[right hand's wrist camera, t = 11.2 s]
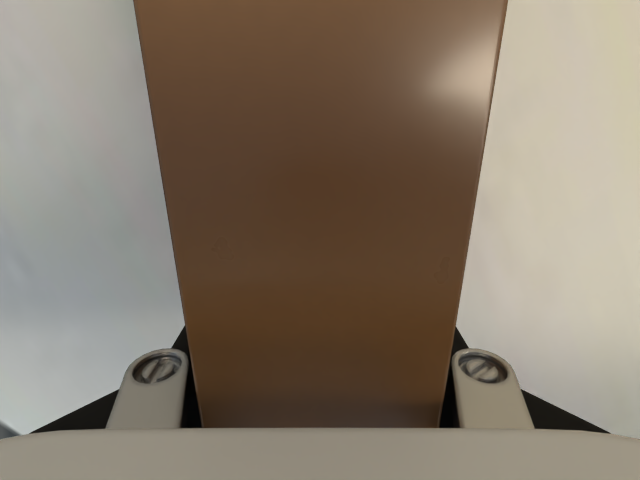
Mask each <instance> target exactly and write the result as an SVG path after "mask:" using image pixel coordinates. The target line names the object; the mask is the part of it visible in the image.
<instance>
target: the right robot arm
mask: <svg viewBox="0 0 640 480" xmlns="http://www.w3.org/2000/svg"><path fill="white" fill-rule="evenodd" d="M0 480H640V439H635V438H630V437H625V436H619V435H614V434H611V433H609V432H607V431H605V430H603V429H601V428H599V427H597V426H595V425H593V424H591V423H589V422H587V421H585V420H583V419H581V418H579V417H577V416H575V415H573V414H571V413H569V412H566V411H564V410H562V409H560V408H558V407H556V406H554V405H552V404H550V403H548V402H546V401H544V400H542V399H540V398H538V397H536V396H534V395H532V394H530V393H528V392H526V391H524V390H522V389H520V386H519V383H518V381H517V378H516V375H515V372H514V370H513V369H512V367H511V365H509V364H508V363H507V362H506V361H505V360H504V359H502V358H501V357H499V356H498V355H496V354H493V353H491V352H489V351H485V350H481V349H472V348H468V346H467V344H466V343H465V341H464V339H463V338H462V336H461V334H460V333H459V331H458V329H457V328H456V326H455V332H454V339H453V345H452V351H451V357H450V363H449V370H448V376H447V382H446V388H445V394H444V401H443V407H442V413H441V419H440V425H439V428H202V426H201V420H200V414H199V408H198V401H197V395H196V389H195V383H194V376H193V370H192V364H191V358H190V351H189V345H188V339H187V333H186V326H184V328H183V330H182V331H181V333H180V335H179V336H178V338H177V340H176V341H175V343H174V345H173V346H172V348H168V349H159V350H155V351H151V352H149V353H147V354H144V355H142V356H141V357H139V358H138V359H136V360H135V361H134V362H133V363H132V364H131V365H129V367H128V369H127V370H126V372H125V375H124V378H123V381H122V383H121V386H120V389H119V390H116V391H114V392H112V393H110V394H108V395H106V396H104V397H102V398H100V399H98V400H96V401H94V402H92V403H90V404H88V405H86V406H84V407H82V408H80V409H78V410H76V411H74V412H72V413H70V414H68V415H66V416H63V417H61V418H59V419H57V420H55V421H53V422H51V423H49V424H47V425H45V426H43V427H41V428H39V429H37V430H35V431H33V432H31V433H29V434H26V435H21V436H15V437H10V438H5V439H0Z"/></svg>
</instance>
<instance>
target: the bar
mask: <svg viewBox="0 0 640 480" xmlns="http://www.w3.org/2000/svg"><path fill="white" fill-rule="evenodd" d="M133 2H134V8H135V14H136V20H137V27H138V33H139V39H140V45H141V52H142V58H143V64H144V70H145V77H146V83H147V89H148V95H149V102H150V108H151V114H152V120H153V127H154V133H155V139H156V145H157V152H158V158H159V164H160V170H161V177H162V183H163V189H164V195H165V201H166V208H167V214H168V220H169V226H170V233H171V239H172V245H173V251H174V258H175V264H176V270H177V276H178V283H179V289H180V295H181V301H182V308H183V314H184V320H185V326H186V333H187V339H188V345H189V351H190V358H191V364H192V370H193V376H194V383H195V389H196V395H197V401H198V408H199V414H200V420H201V426H202V428H439V425H440V419H441V413H442V407H443V401H444V394H445V388H446V382H447V376H448V370H449V363H450V357H451V351H452V345H453V339H454V332H455V326H456V320H457V314H458V308H459V301H460V295H461V289H462V283H463V277H464V270H465V264H466V258H467V252H468V246H469V239H470V233H471V227H472V221H473V215H474V208H475V202H476V196H477V190H478V184H479V177H480V171H481V165H482V159H483V153H484V146H485V140H486V134H487V128H488V122H489V115H490V109H491V103H492V97H493V91H494V84H495V78H496V72H497V66H498V60H499V53H500V47H501V41H502V35H503V29H504V22H505V16H506V10H507V4H508V0H133Z"/></svg>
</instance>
